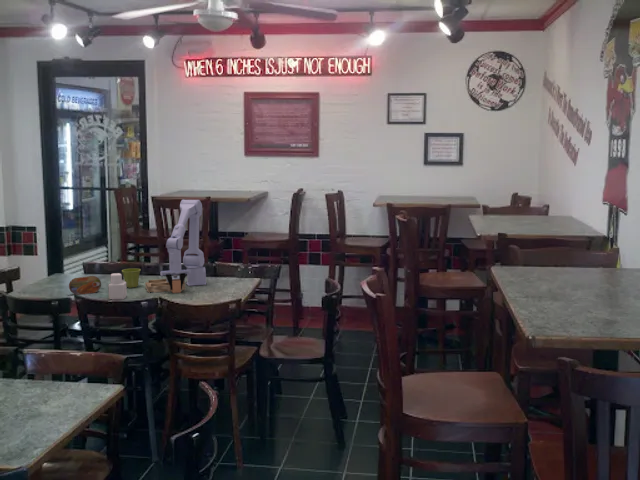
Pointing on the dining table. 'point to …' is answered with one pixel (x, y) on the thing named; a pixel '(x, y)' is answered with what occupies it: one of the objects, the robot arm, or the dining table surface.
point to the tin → (84, 285)
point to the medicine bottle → (117, 286)
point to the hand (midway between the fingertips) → (176, 289)
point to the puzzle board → (159, 285)
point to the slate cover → (174, 277)
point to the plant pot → (131, 277)
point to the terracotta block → (176, 286)
